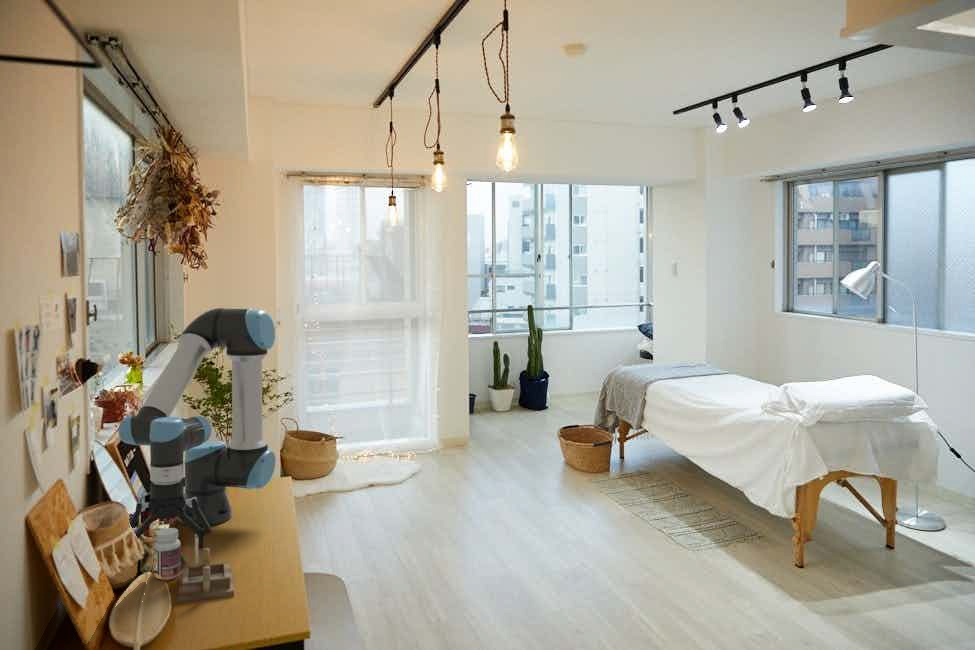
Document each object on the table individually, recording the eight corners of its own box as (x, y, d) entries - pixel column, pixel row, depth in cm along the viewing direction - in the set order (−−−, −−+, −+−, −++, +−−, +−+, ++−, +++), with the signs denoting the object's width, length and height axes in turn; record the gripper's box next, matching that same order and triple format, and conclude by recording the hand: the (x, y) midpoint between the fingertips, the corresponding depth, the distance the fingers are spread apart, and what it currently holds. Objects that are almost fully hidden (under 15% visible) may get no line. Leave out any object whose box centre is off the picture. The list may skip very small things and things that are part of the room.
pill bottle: (186, 572, 184) (186, 528, 183) (169, 582, 178) (169, 536, 177) (165, 569, 185) (164, 525, 184) (148, 579, 179) (147, 534, 178)
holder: (180, 578, 180) (180, 550, 179) (231, 572, 184) (231, 545, 184) (178, 603, 167) (178, 572, 166) (233, 596, 171) (233, 566, 170)
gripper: (108, 489, 172) (109, 577, 173) (221, 481, 181) (221, 564, 182) (112, 480, 179) (113, 565, 180) (220, 473, 188) (220, 553, 189)
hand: (167, 564), depth 181 cm, fingers open, 13 cm apart
